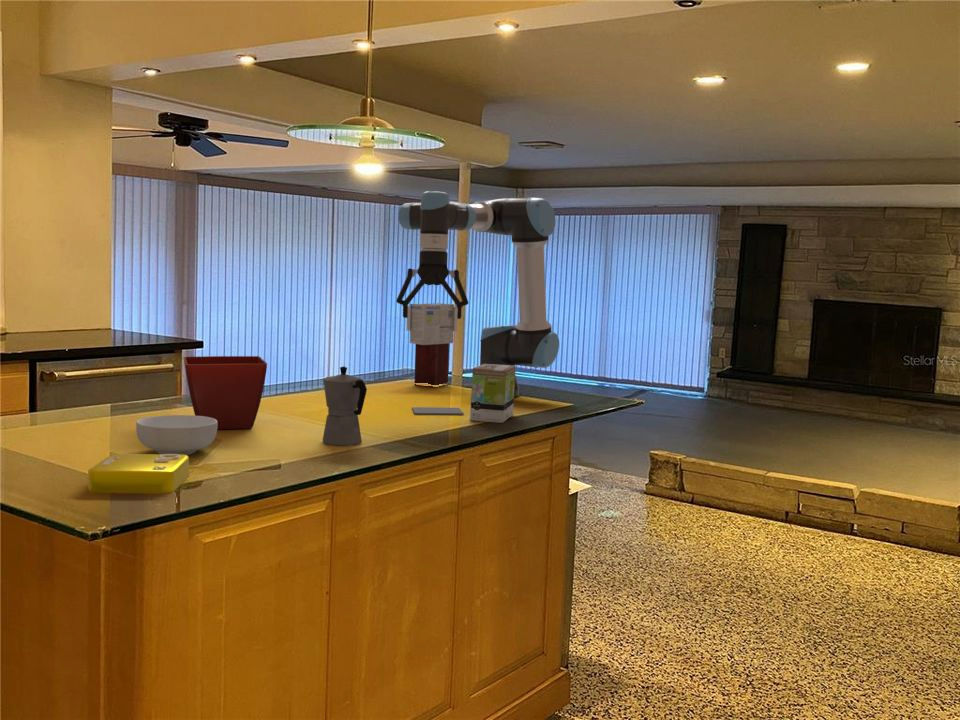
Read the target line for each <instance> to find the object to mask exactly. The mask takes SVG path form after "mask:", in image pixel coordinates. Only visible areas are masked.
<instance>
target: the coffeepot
mask: <svg viewBox="0 0 960 720" xmlns="http://www.w3.org/2000/svg"><path fill="white" fill-rule="evenodd" d="M339 369H340V374H335V375H331V376H326V377H324V378H322V379H323V380H322V381H323V387H324V395H325V403H326V404H325V405H326V407H327V409H328V411H327V413H328V414H327V415H326V421H325V424H324V431H323V436H322V442H323V444H325V445H328V446H332V445H334V446H335V447H350V446H349V445H353V446H357V444H358V445H360V444H361V443H362V441H363V440H362V434H361V433H362V432H361V428H360V421H359V420H360V419H359V416H360V415H361V414H362V412H363V411H362V410H363V407H364V403H365V399H366V395H367V391H368V390H367V389H368V388H367V386H366V383H365V382H364V379H362V378H360V377H357V376H353V375H349V374H347V371H348V367H347V366H340V367H339ZM334 446H333V447H334Z"/></svg>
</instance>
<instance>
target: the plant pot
mask: <svg viewBox="0 0 960 720" xmlns="http://www.w3.org/2000/svg"><path fill="white" fill-rule="evenodd" d="M183 363H184V369H185V376H186V381H187V387H188V391H189V392H188V393H189V397H190V401H191V405H192V409H193V412H194V413H193V414H194V416H205V417H210V418H214V419H216V420H217V422H218V423H217V424H218V425H217V430H233V429H234V430H235V429H238V430H239V429H253V427H254V424H255V422H256V419H257V416H258V411H259V410H260V409H259V408H260V404H261V401H262V396H263V392H264V389H265V388H264V387H265V382H266V377H267V376H266V375H267V369H268V362H266V361H265V360H264V359H263V358H262V357H261V356H259V355H257V356H255V355H253V356H252V355H244V356H243V355H233V356H232V355H225V356H224V355H223V356H222V355H220V356H219V355H218V356H217V355H215V356H210V355H209V356H207V355H206V356H184V357H183Z"/></svg>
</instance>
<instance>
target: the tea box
mask: <svg viewBox="0 0 960 720" xmlns="http://www.w3.org/2000/svg"><path fill="white" fill-rule="evenodd" d="M515 375H516V365H515V366H510V365H497V364H482V365H480V364H479V365H477V366H475V367H473V368H472V378H471V379H472V381H471V394H470V396H471V398H470V413H469V420H470V421H475V422H487V423H499V424H503V423H505V422H506V421H507V420H508V419H509V418H510V417H512V416H513V414H514V406H515V405H514V404H515V403H514V401H515V397H514V388H515Z"/></svg>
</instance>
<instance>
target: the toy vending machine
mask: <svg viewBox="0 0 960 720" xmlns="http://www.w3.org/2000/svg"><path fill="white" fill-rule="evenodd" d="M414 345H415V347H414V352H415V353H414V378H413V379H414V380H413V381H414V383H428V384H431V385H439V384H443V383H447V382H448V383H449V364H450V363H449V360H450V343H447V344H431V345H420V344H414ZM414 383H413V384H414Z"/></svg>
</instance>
